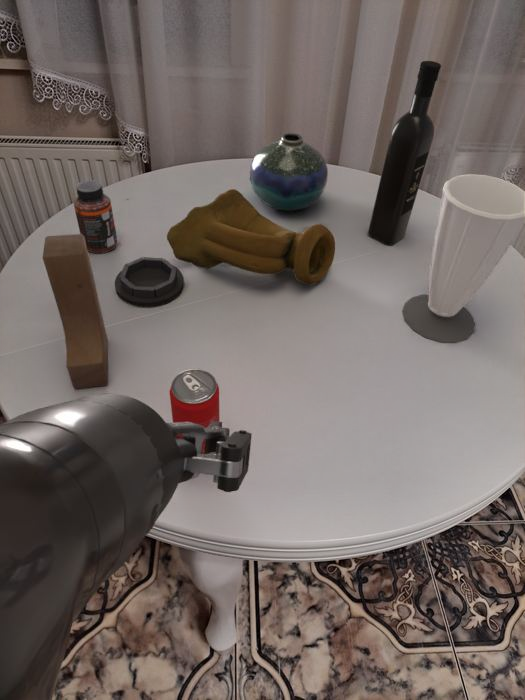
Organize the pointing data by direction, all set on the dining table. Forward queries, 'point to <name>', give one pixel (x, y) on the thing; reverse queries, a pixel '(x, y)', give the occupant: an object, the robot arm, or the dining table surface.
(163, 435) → the robot arm
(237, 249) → the brown looped sculpture
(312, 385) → the dining table surface
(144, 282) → the socket pad
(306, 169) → the vase
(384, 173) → the wine bottle
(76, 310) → the wooden block
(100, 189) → the supplement bottle
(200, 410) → the beverage can
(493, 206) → the cup
